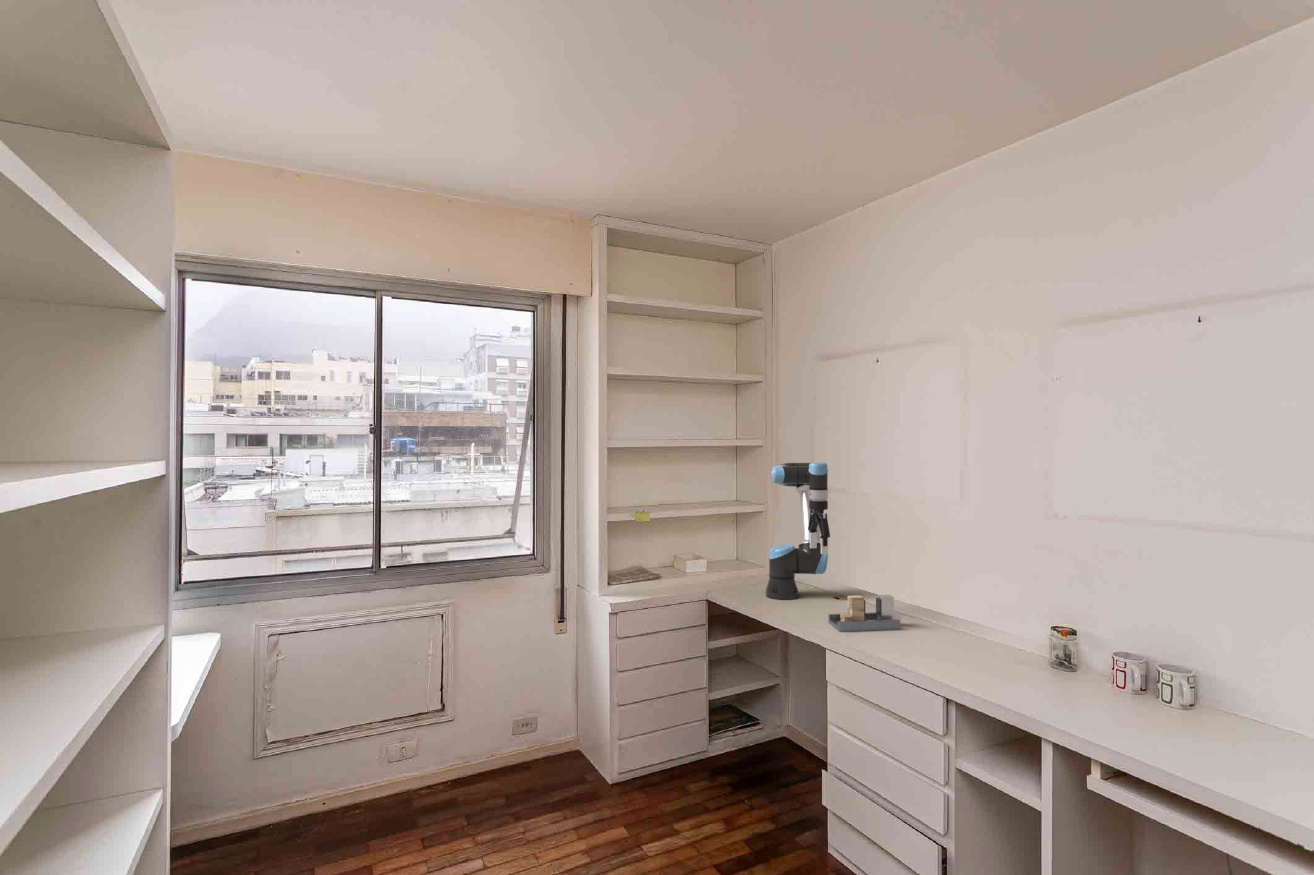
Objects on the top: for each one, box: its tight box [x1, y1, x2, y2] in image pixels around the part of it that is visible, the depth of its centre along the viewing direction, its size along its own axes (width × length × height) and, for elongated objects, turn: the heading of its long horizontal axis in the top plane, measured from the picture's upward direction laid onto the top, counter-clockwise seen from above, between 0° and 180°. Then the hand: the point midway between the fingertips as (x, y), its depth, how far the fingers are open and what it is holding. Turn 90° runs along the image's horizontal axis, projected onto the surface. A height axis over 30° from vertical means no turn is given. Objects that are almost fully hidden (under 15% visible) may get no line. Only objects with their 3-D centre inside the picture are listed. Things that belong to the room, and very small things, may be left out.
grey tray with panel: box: [827, 594, 902, 633], centre depth 262 cm, size 12×26×12 cm, turn 95°
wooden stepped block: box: [839, 595, 866, 621], centre depth 262 cm, size 4×9×10 cm, turn 96°
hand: (818, 551), depth 278 cm, fingers open, 13 cm apart
